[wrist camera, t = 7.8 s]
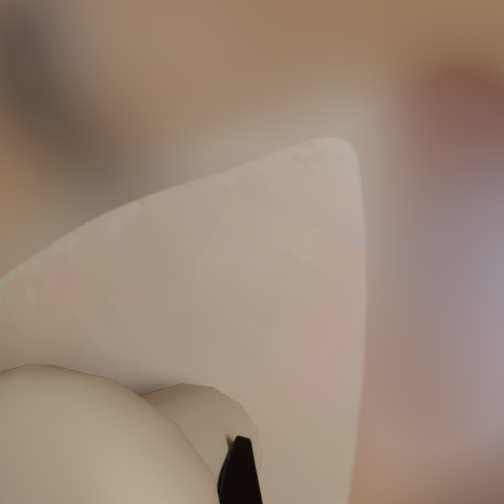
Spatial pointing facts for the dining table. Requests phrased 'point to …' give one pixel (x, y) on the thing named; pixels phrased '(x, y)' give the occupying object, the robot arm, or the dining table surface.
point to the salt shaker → (113, 440)
